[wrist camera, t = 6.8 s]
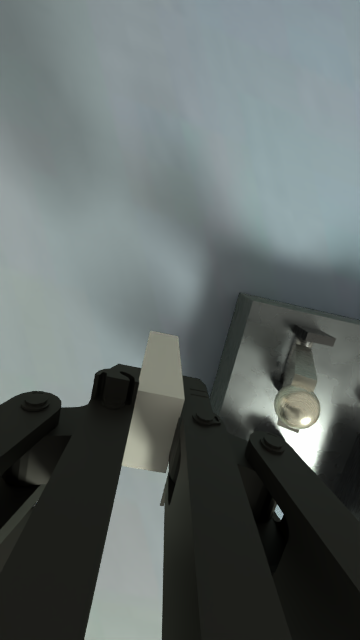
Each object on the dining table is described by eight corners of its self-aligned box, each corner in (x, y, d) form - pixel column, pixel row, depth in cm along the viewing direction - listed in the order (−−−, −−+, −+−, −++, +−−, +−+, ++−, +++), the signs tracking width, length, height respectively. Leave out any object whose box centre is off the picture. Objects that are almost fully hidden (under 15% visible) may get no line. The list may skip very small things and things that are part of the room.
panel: (193, 457, 28) (201, 531, 20) (239, 292, 24) (270, 310, 17) (389, 491, 30) (461, 570, 22) (460, 343, 26) (574, 379, 19)
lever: (276, 377, 21) (264, 433, 13) (288, 341, 20) (283, 378, 12) (305, 387, 20) (310, 453, 12) (318, 350, 19) (332, 395, 12)
